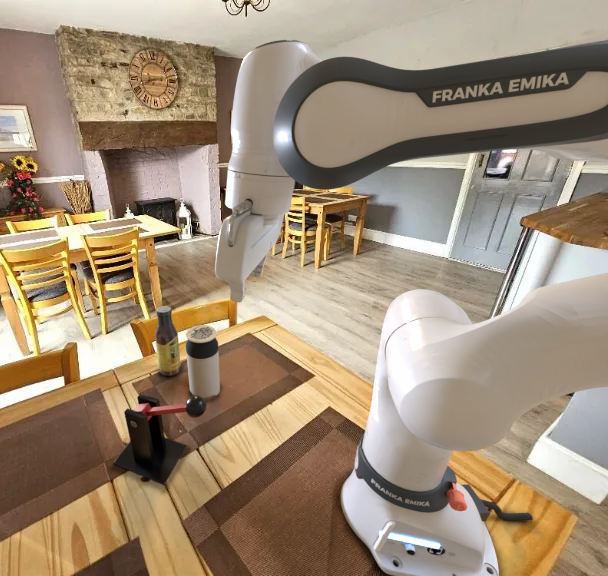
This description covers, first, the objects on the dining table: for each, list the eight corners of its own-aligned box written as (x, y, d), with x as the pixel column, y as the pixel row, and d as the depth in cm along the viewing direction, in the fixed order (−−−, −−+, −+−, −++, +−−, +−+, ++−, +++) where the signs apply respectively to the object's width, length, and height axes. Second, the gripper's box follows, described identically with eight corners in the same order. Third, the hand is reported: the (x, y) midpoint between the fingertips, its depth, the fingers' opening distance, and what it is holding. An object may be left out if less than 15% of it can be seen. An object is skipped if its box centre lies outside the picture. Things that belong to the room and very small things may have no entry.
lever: (213, 406, 54) (204, 389, 53) (204, 422, 51) (194, 404, 50) (148, 413, 62) (139, 399, 61) (137, 427, 59) (127, 412, 58)
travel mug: (226, 389, 82) (224, 332, 75) (203, 406, 77) (199, 346, 70) (206, 375, 87) (202, 320, 80) (184, 390, 82) (178, 333, 75)
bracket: (187, 449, 66) (181, 397, 60) (164, 489, 59) (155, 433, 53) (140, 433, 70) (130, 382, 64) (114, 468, 63) (99, 414, 57)
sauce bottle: (176, 378, 87) (169, 316, 78) (156, 375, 88) (146, 314, 80) (184, 363, 93) (178, 304, 84) (164, 361, 94) (156, 303, 85)
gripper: (260, 212, 32) (246, 325, 38) (294, 188, 49) (281, 268, 55) (204, 203, 34) (199, 312, 40) (256, 183, 51) (247, 261, 57)
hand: (247, 286), depth 48 cm, fingers open, 8 cm apart
